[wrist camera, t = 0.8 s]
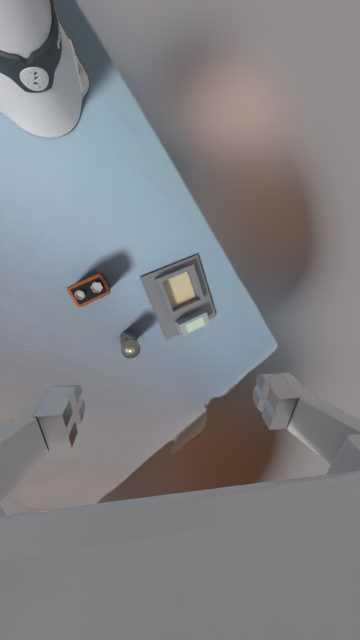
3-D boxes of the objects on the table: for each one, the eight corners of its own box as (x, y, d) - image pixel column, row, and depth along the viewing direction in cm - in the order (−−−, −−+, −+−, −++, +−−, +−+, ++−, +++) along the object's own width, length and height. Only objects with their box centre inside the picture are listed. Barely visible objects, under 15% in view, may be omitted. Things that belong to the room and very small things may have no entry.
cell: (116, 334, 51) (118, 347, 43) (131, 327, 52) (136, 338, 44) (123, 347, 53) (126, 362, 44) (138, 340, 53) (143, 354, 45)
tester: (139, 277, 50) (143, 278, 45) (196, 254, 53) (204, 253, 48) (165, 338, 56) (171, 345, 51) (214, 315, 59) (223, 319, 54)
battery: (111, 288, 48) (111, 293, 39) (83, 301, 47) (77, 309, 38) (101, 271, 47) (99, 272, 37) (73, 284, 45) (64, 288, 36)
